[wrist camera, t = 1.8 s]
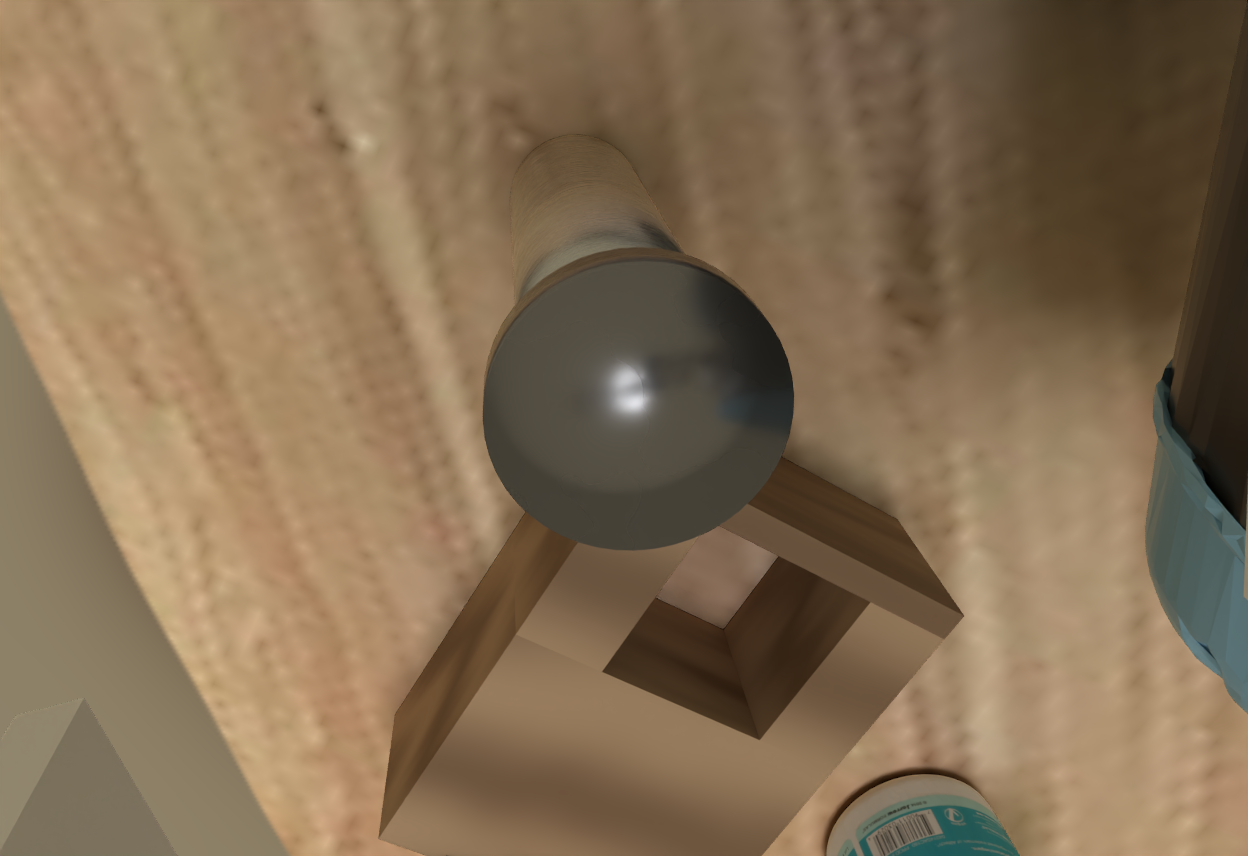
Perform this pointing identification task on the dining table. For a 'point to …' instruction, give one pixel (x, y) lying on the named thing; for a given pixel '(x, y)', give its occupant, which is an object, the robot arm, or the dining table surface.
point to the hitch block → (660, 688)
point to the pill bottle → (920, 821)
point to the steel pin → (625, 364)
